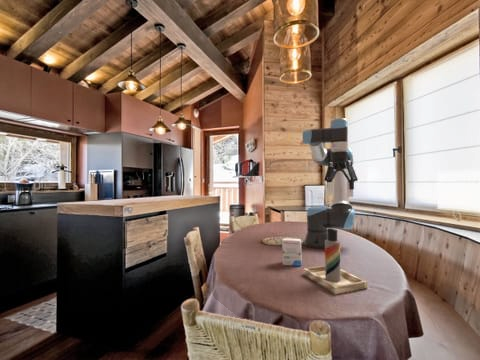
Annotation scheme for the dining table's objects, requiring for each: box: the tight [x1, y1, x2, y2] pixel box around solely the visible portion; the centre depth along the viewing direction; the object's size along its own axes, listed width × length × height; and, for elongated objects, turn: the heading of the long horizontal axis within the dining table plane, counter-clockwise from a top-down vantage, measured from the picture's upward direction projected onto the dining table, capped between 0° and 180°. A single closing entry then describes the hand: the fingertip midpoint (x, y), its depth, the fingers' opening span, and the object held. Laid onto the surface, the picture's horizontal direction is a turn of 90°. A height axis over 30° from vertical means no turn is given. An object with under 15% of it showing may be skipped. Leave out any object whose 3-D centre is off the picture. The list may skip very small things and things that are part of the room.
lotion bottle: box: [324, 228, 341, 282], centre depth 100 cm, size 6×6×20 cm
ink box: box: [281, 237, 303, 267], centre depth 121 cm, size 9×5×12 cm, turn 71°
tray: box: [303, 264, 368, 295], centre depth 100 cm, size 20×14×2 cm
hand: (340, 196), depth 122 cm, fingers open, 13 cm apart
